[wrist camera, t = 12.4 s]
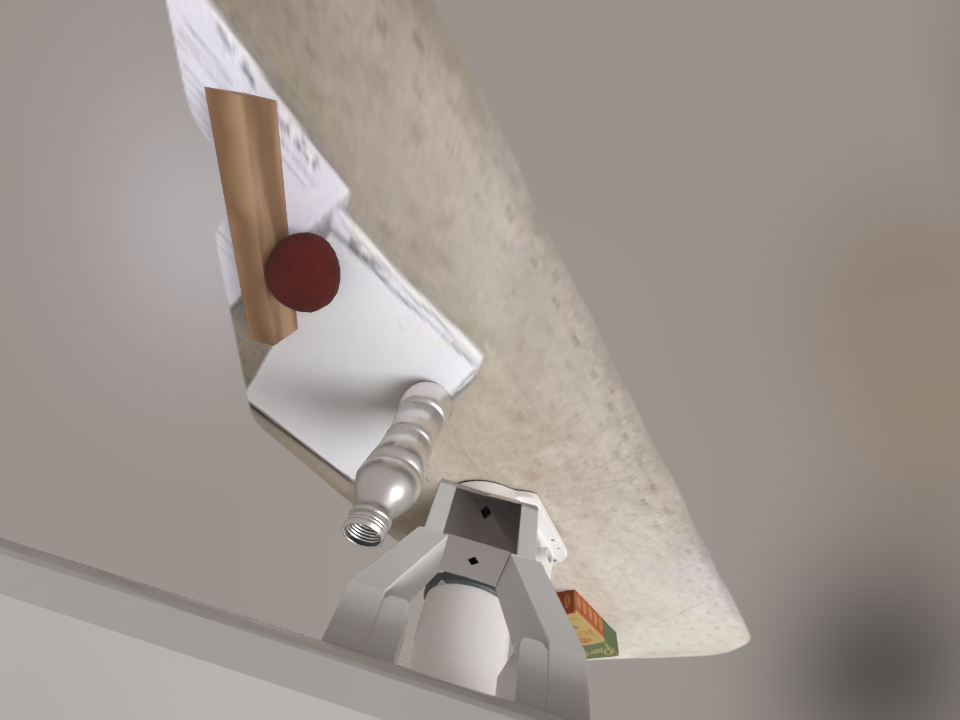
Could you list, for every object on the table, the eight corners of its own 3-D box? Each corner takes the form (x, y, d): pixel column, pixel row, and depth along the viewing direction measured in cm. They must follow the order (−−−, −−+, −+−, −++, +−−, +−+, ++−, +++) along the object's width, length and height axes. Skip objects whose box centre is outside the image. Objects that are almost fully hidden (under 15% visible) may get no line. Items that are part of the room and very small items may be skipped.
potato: (362, 246, 38) (327, 265, 32) (342, 308, 43) (308, 335, 37) (299, 210, 38) (251, 223, 32) (285, 277, 42) (241, 299, 36)
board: (275, 100, 33) (238, 94, 29) (297, 328, 46) (273, 345, 42) (245, 93, 33) (204, 86, 29) (275, 322, 46) (249, 339, 42)
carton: (575, 587, 64) (576, 613, 61) (617, 631, 69) (621, 658, 66) (535, 594, 68) (534, 619, 64) (578, 636, 73) (579, 662, 69)
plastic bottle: (399, 380, 47) (310, 513, 30) (445, 370, 45) (376, 507, 28) (420, 418, 50) (349, 559, 33) (464, 410, 47) (412, 557, 30)
